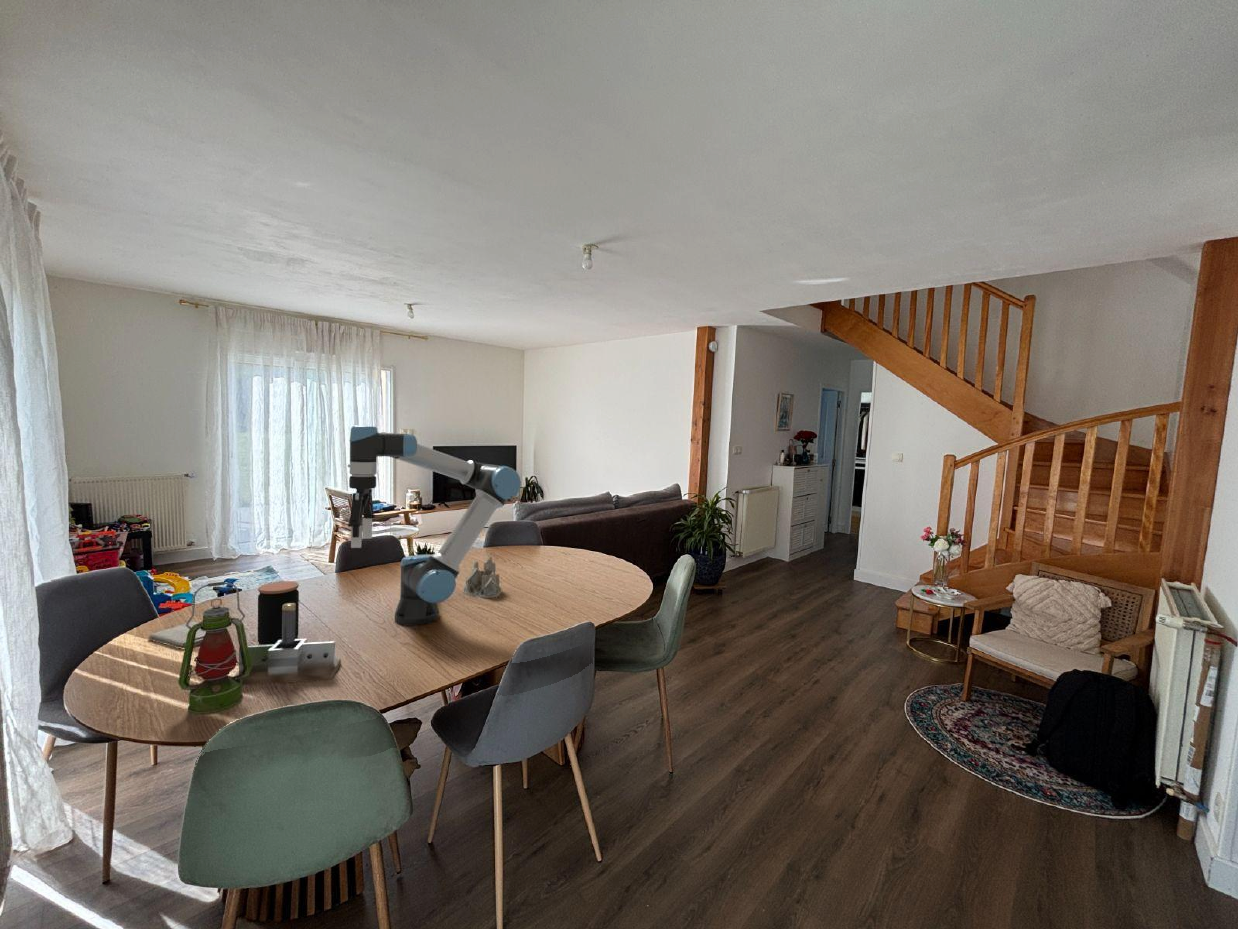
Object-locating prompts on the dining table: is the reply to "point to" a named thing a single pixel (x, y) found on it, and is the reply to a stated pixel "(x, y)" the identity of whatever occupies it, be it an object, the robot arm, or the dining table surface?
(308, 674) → the hinge board
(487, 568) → the ceramic cottage
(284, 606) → the pin
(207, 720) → the dining table surface
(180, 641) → the washcloth
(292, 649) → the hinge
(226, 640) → the lantern
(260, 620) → the coffee jar
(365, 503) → the robot arm
